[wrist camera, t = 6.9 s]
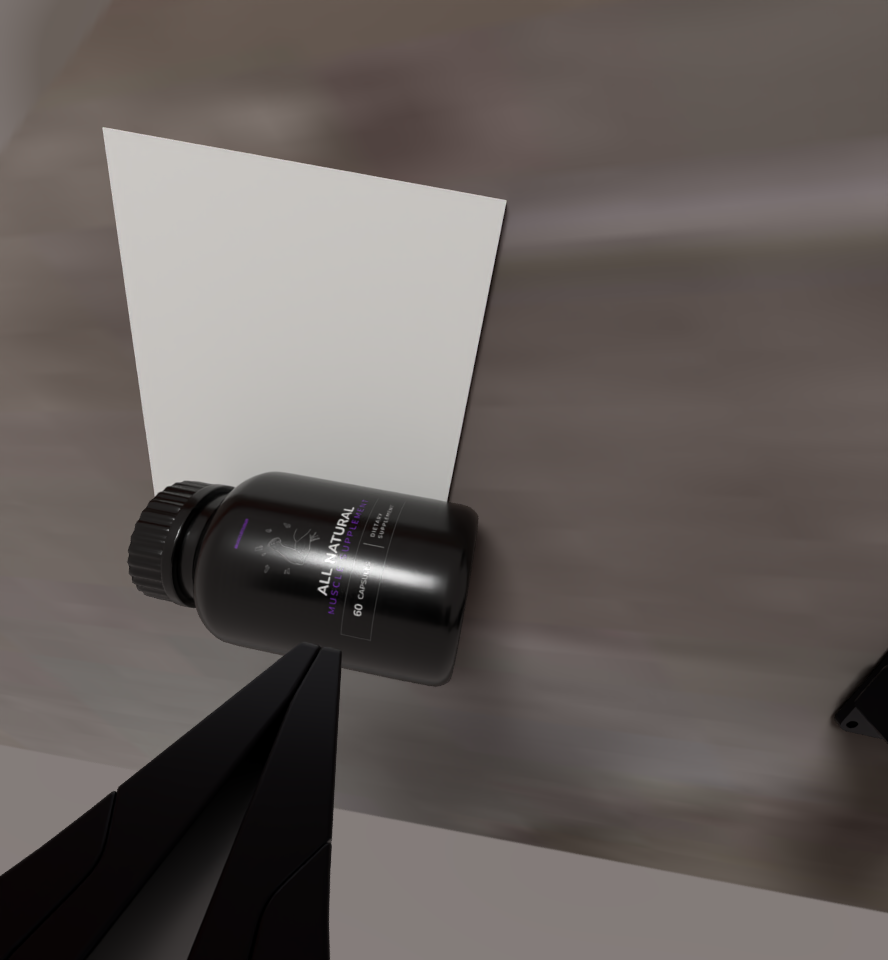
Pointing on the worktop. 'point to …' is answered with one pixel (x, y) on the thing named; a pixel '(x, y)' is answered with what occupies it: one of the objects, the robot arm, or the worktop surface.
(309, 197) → the mat
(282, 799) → the robot arm
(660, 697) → the worktop surface
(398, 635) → the supplement bottle
